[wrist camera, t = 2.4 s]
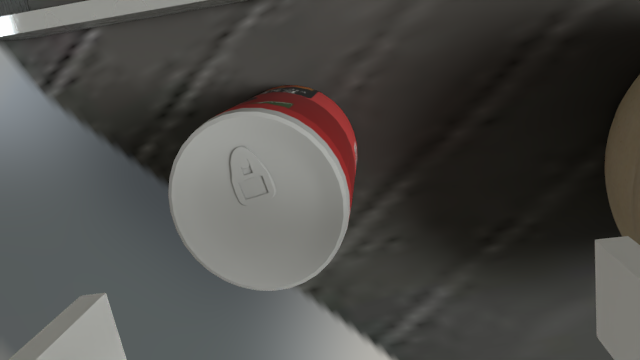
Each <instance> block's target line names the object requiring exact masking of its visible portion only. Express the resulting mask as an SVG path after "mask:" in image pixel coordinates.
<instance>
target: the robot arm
mask: <svg viewBox="0 0 640 360" xmlns="http://www.w3.org/2000/svg"><path fill="white" fill-rule="evenodd" d="M595 274H596V321H597V338H598V339H599V340H600V342H601V343H602V344H603V345H604V347H605V348H606V349H607V351H608V352H609V353H610V355H611V356H612V357H613V359H614V360H640V245H639V244H638V243H636V242H635V241H634V240H632V239H631V238H630V237H629V236H624V237H614V238H605V239H596V240H595ZM9 360H126V357H125V353H124V350H123V347H122V344H121V340H120V337H119V334H118V331H117V328H116V324H115V321H114V318H113V315H112V312H111V308H110V305H109V302H108V299H107V295H106V293H99V294H91V295H81V296H80V297H79V298H78V299H77V300H75V301H74V302H73V303H72V304H71V305H70V306H69V307H68V308H66V309H65V310H64V311H63V312H62V313H61V314H60V315H58V316H57V317H56V318H55V319H54V320H53V321H52V322H51V323H49V324H48V325H47V326H46V327H45V328H44V329H43V330H42V331H40V332H39V333H38V334H37V335H36V336H35V337H34V338H33V339H31V340H30V341H29V342H28V343H27V344H26V345H25V346H23V347H22V348H21V349H20V350H19V351H18V352H17V353H16V354H14V355H13V356H12V357H11V358H10V359H9Z"/></svg>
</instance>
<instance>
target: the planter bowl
mask: <svg viewBox="0 0 640 360" xmlns="http://www.w3.org/2000/svg"><path fill="white" fill-rule="evenodd" d="M605 182H606V190H607V195H608V200H609V204H610V208H611V211H612V214H613V217H614V220H615V222H616V225H617V227H618V229H619V231H620V233H621V235H622V237H624V236H629V237H630V238H631V239H632V240H634V241H635V242H636V243H638V244H639V245H640V74H639V76H638V77H637V78H636V80H635V81H634V82H633V84H632V85H631V86H630V88H629V89H628V91H627V93H626V94H625V96H624V98H623V99H622V101H621V103H620V105H619V107H618V109H617V111H616V114H615V117H614V119H613V122H612V125H611V128H610V131H609V135H608V140H607V146H606V151H605Z"/></svg>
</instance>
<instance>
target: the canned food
mask: <svg viewBox="0 0 640 360" xmlns="http://www.w3.org/2000/svg"><path fill="white" fill-rule="evenodd" d="M356 164H357V143H356V139H355V134H354V131H353V129H352V126H351V124H350V122H349V120H348V118H347V117H346V115H345V114H344V112H343V111H342V109H341V108H340V107H339V106H338V105H337V104H336V103H335V102H334V101H333V100H331V99H330V98H328V97H327V96H325V95H324V94H322V93H320V92H318V91H316V90H313V89H311V88H308V87H303V86H298V85H284V86H280V87H275V88H272V89H269V90H267V91H265V92H263V93H261V94H259V95H257V96H255V97H253V98H251V99H249V100H246V101H244V102H242V103H240V104H238V105H236V106H234V107H232V108H230V109H228V110H226V111H224V112H222V113H220V114H218V115H216V116H215V117H213V118H211V119H209V120H208V121H207V122H205V123H204V124H203V125H201V126H200V127H199V128H197V129H196V130H195V131H194V132H193V133H192V134H191V136H190V137H189V138H188V139H187V140H186V142H185V143H184V144H183V145H182V146H181V148H180V150H179V152H178V154H177V156H176V158H175V160H174V162H173V166H172V170H171V174H170V178H169V193H168V195H169V196H168V197H169V204H170V211H171V215H172V218H173V221H174V224H175V227H176V230H177V232H178V234H179V236H180V237H181V239H182V241H183V243H184V245H185V246H186V247H187V249H188V250H189V251H190V252H191V253H192V255H193V256H194V257H195V259H196V260H197V261H199V262H200V263H201V264H202V265H203V266H204V267H205V268H206V269H208V270H209V271H210V272H212V273H213V274H215V275H216V276H218V277H220V278H221V279H223V280H225V281H227V282H230V283H232V284H234V285H237V286H240V287H244V288H248V289H253V290H265V291H266V290H267V291H274V290H280V289H287V288H291V287H294V286H296V285H299V284H302V283H304V282H306V281H308V280H309V279H311V278H312V277H314V276H316V275H317V274H318V273H319V272H320V271H322V270H323V269H324V268H325V267H326V266H327V265H328V264H329V263H330V261H331V260H332V258H333V257H334V255H335V254H336V252H337V251H338V249H339V247H340V245H341V243H342V240H343V238H344V235H345V233H346V230H347V227H348V221H349V216H350V211H351V205H352V197H353V189H354V181H355V172H356Z"/></svg>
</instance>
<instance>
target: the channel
mask: <svg viewBox="0 0 640 360" xmlns="http://www.w3.org/2000/svg"><path fill="white" fill-rule="evenodd" d="M243 1H249V0H89V1H83V2H78V3H72V4H67V5H61V6H56V7H50V8H45V9H39V10H34V11H29V7H28V4H27V1H26V0H0V40H25V39H30V38H36V37H42V36H48V35H53V34H59V33H65V32H71V31H76V30H82V29H88V28H94V27H99V26H105V25H111V24H117V23H122V22H128V21H134V20H140V19H145V18H151V17H157V16H162V15H168V14H174V13H180V12H185V11H191V10H197V9H203V8H208V7H214V6H220V5H226V4H231V3H237V2H243Z"/></svg>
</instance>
